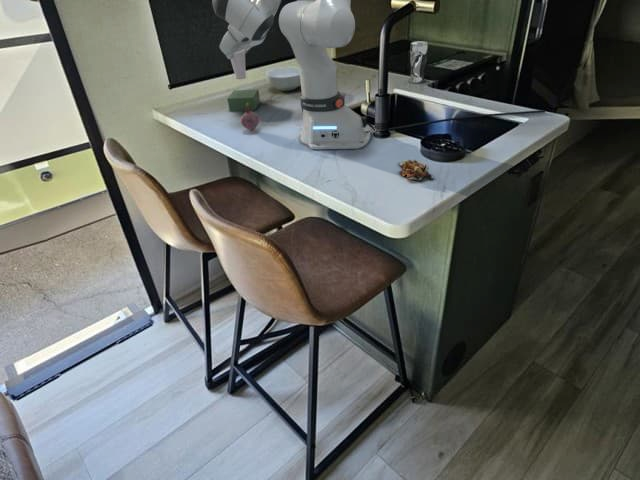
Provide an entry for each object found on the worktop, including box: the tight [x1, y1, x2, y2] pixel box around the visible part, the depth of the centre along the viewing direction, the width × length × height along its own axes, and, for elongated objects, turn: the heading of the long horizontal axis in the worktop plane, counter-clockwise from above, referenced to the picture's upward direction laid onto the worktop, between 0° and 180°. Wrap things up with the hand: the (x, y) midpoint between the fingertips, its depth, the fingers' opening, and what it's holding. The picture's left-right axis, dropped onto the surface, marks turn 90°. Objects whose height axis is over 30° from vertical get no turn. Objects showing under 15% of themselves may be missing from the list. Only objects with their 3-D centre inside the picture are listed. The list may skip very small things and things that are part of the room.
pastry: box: [399, 158, 434, 181], centre depth 117 cm, size 7×12×4 cm, turn 16°
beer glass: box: [408, 40, 429, 84], centre depth 178 cm, size 7×7×15 cm
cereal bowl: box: [265, 66, 301, 92], centre depth 184 cm, size 17×17×7 cm
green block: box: [227, 88, 261, 112], centre depth 168 cm, size 10×10×5 cm
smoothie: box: [230, 49, 247, 80], centre depth 159 cm, size 6×6×14 cm
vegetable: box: [240, 103, 260, 132], centre depth 146 cm, size 6×6×10 cm
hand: (235, 55), depth 159 cm, fingers closed on smoothie, 6 cm apart
